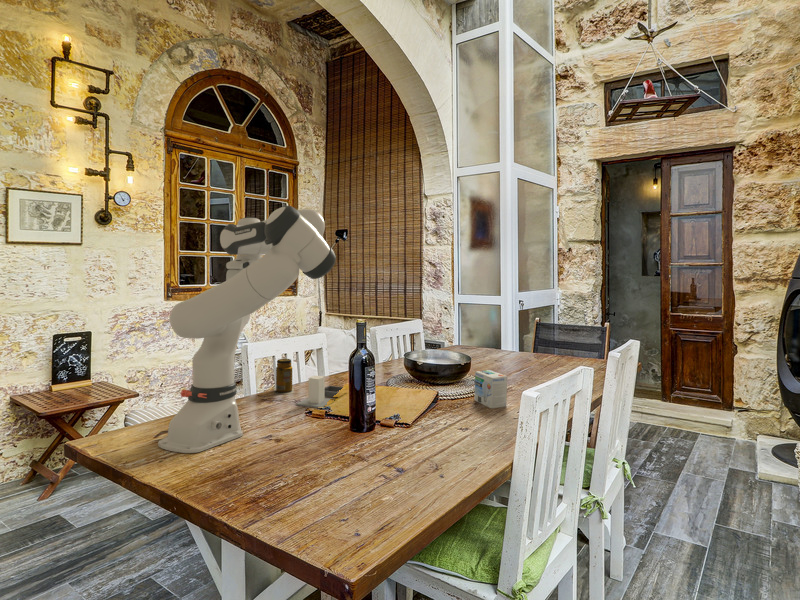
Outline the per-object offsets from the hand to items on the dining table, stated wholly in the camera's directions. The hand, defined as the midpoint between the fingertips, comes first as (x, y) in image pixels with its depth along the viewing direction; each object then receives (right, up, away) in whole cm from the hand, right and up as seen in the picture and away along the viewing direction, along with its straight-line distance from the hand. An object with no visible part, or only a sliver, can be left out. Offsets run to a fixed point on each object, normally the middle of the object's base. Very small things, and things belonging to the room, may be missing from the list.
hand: (249, 302), depth 172 cm
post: (+25, -34, -6) cm, 43 cm away
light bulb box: (+86, -36, -4) cm, 93 cm away
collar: (+29, -34, +5) cm, 45 cm away
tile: (+25, -35, -6) cm, 44 cm away
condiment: (+10, -34, +8) cm, 36 cm away
